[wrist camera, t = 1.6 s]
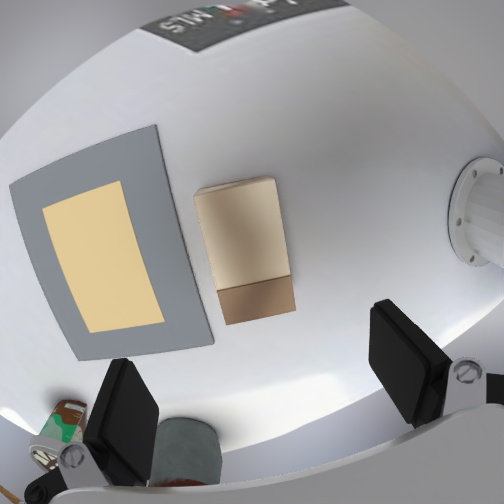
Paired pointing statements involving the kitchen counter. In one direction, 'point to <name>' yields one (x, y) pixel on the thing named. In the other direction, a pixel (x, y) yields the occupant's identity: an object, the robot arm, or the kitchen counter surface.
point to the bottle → (185, 455)
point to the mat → (112, 250)
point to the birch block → (246, 248)
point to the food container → (58, 433)
